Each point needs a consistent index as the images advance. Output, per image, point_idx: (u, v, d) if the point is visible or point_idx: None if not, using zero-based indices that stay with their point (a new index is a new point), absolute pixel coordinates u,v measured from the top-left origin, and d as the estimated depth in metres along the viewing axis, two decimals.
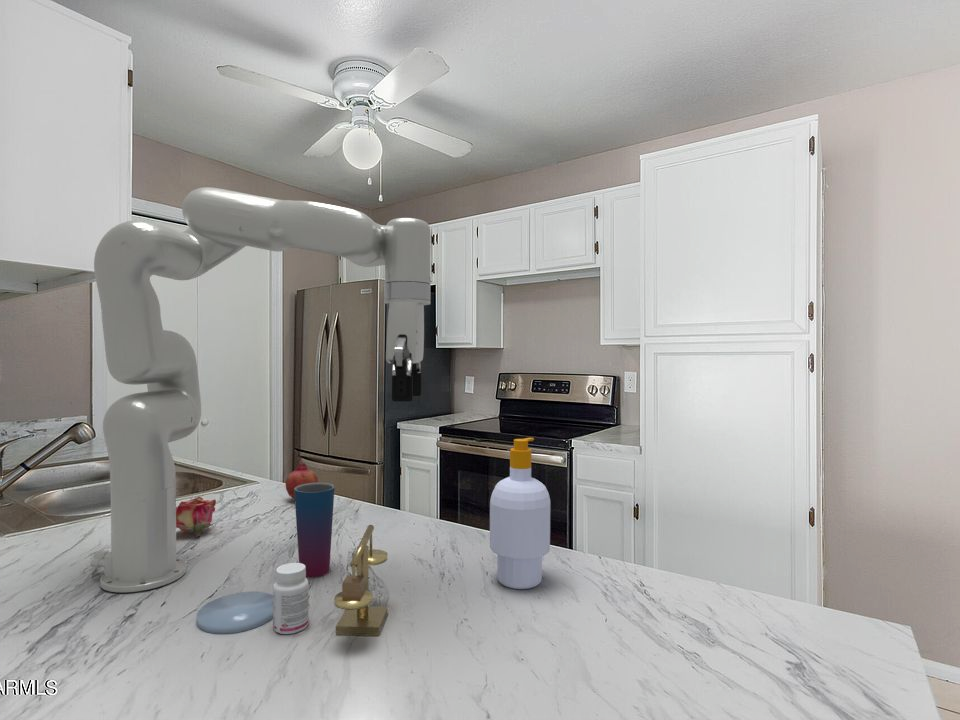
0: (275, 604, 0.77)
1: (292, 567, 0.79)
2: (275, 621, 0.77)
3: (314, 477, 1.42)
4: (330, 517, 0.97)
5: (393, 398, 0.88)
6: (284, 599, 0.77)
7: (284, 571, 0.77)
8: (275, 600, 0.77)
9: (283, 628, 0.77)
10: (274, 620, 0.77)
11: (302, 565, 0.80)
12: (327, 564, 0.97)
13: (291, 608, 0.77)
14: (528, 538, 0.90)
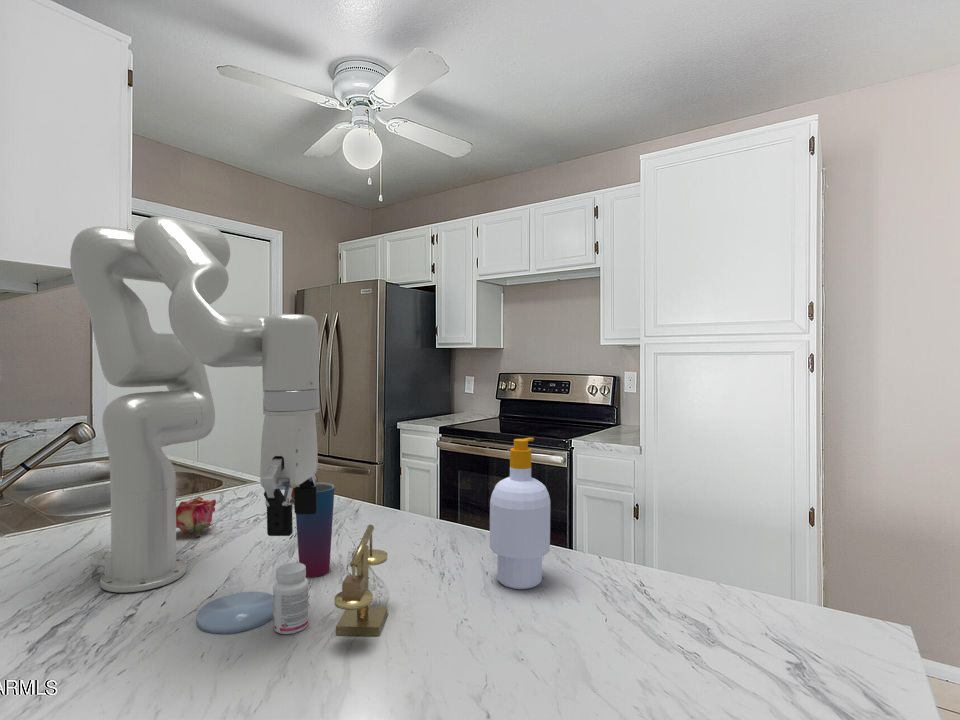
0: (275, 604, 0.77)
1: (292, 567, 0.79)
2: (275, 621, 0.77)
3: None
4: (330, 517, 0.97)
5: (269, 532, 0.73)
6: (284, 599, 0.77)
7: (284, 571, 0.77)
8: (275, 600, 0.77)
9: (283, 628, 0.77)
10: (274, 620, 0.77)
11: (302, 565, 0.80)
12: (327, 564, 0.97)
13: (292, 608, 0.77)
14: (528, 538, 0.90)
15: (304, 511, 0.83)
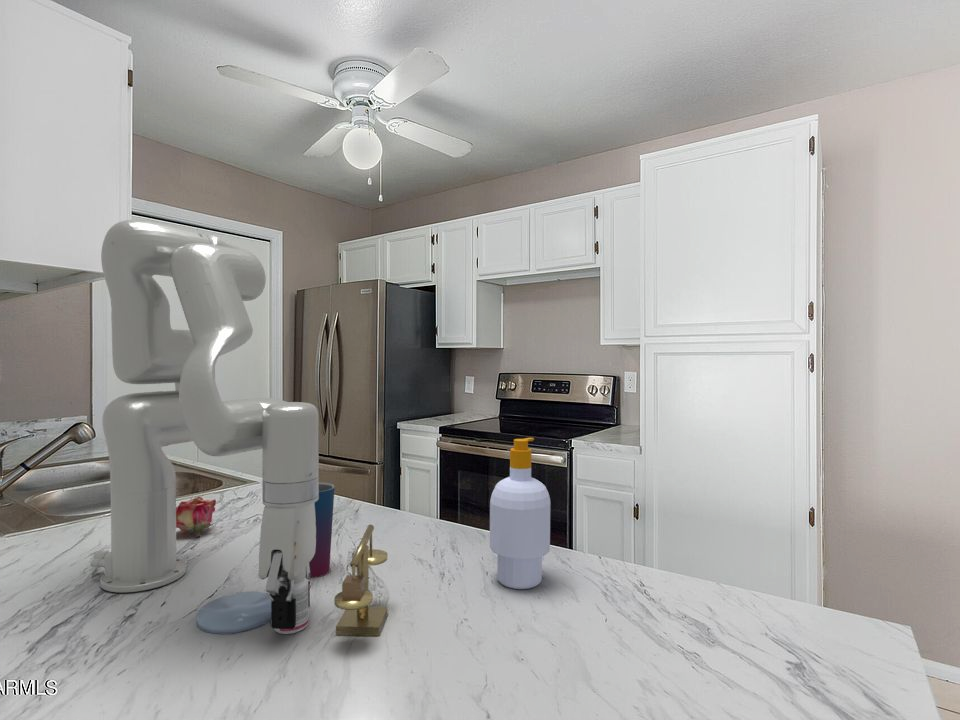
0: None
1: None
2: None
3: None
4: (330, 517, 0.97)
5: (273, 625, 0.76)
6: None
7: None
8: None
9: None
10: None
11: None
12: (327, 564, 0.97)
13: None
14: (528, 538, 0.90)
15: None
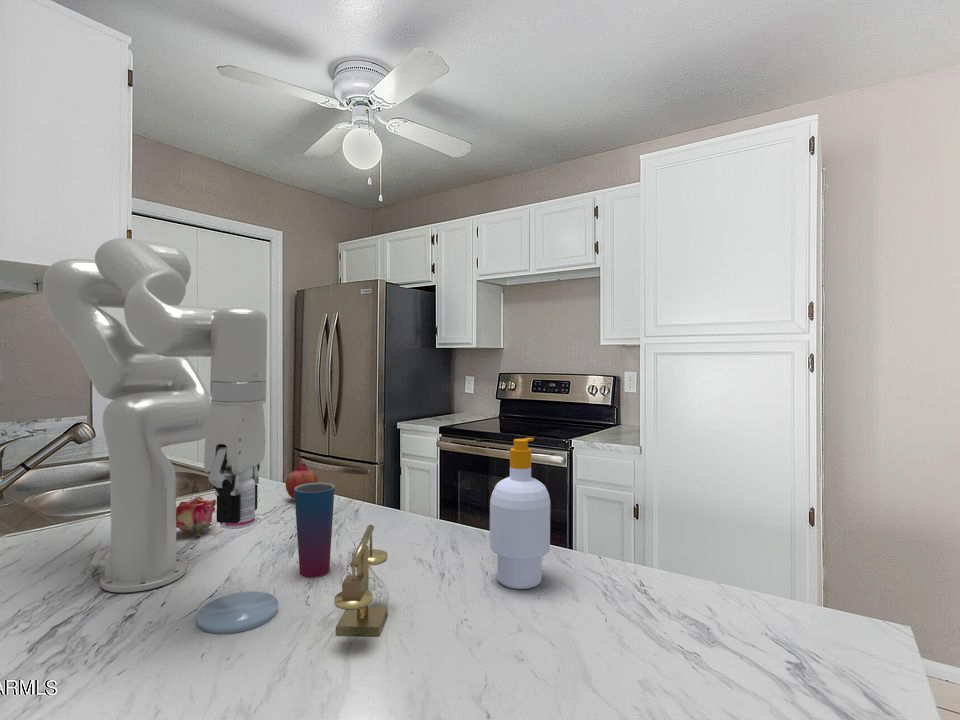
0: None
1: None
2: None
3: (314, 477, 1.42)
4: (330, 517, 0.97)
5: (218, 519, 0.79)
6: None
7: (231, 469, 0.81)
8: None
9: None
10: None
11: None
12: (327, 564, 0.97)
13: None
14: (528, 538, 0.90)
15: None
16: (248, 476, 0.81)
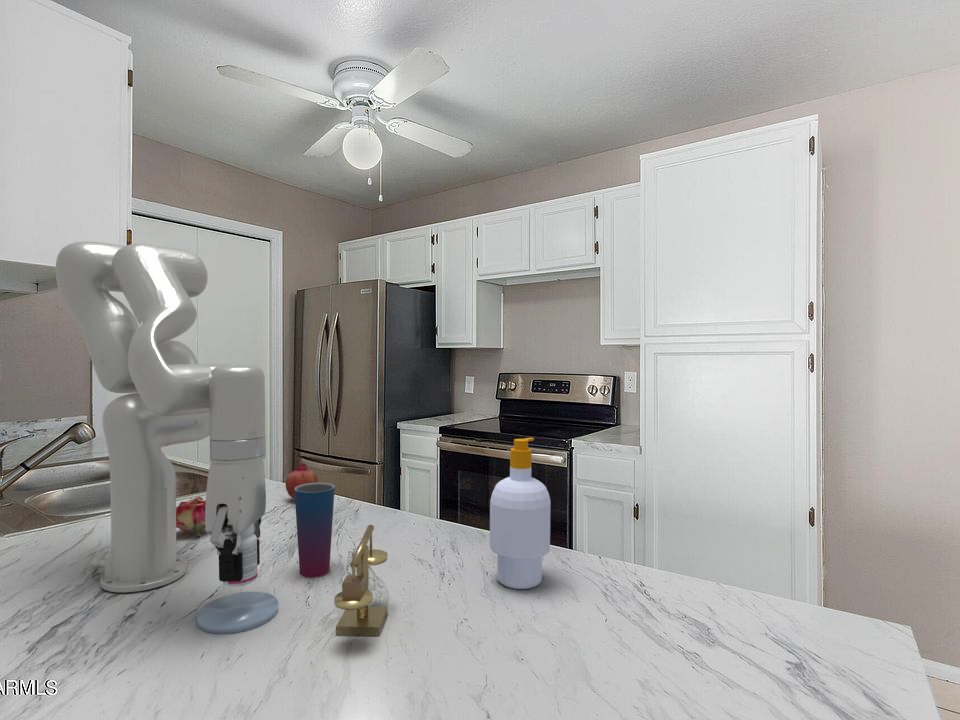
0: None
1: None
2: None
3: (314, 477, 1.42)
4: (330, 517, 0.97)
5: (220, 578, 0.79)
6: None
7: (232, 527, 0.81)
8: None
9: None
10: None
11: None
12: (327, 564, 0.97)
13: None
14: (528, 538, 0.90)
15: None
16: (250, 532, 0.81)
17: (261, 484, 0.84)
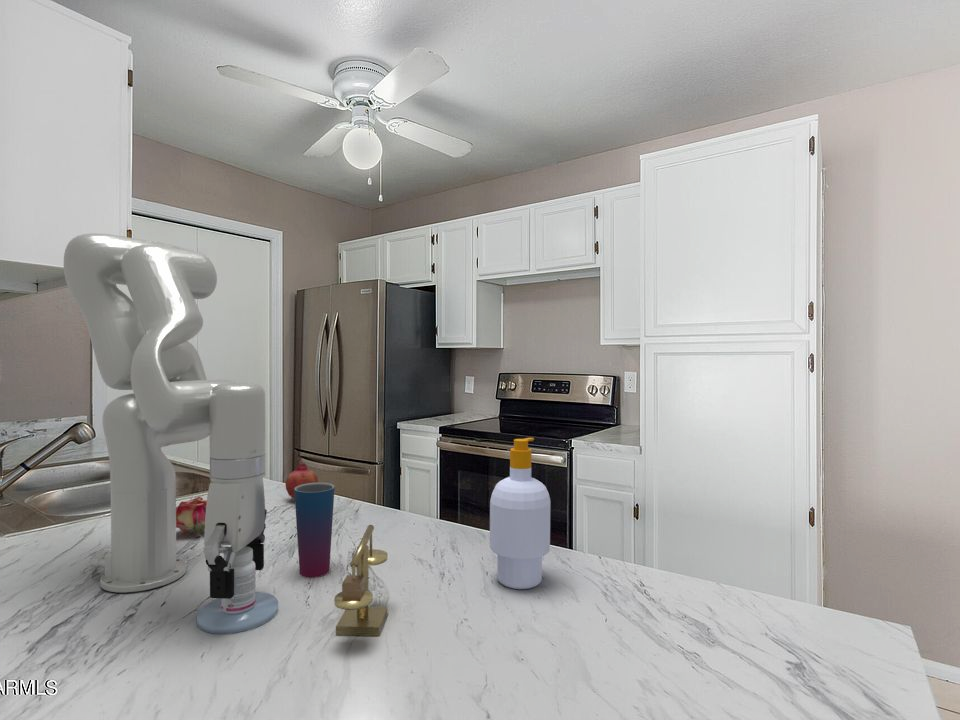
0: None
1: (240, 550, 0.83)
2: (222, 601, 0.81)
3: (314, 477, 1.42)
4: (330, 517, 0.97)
5: (211, 595, 0.77)
6: None
7: None
8: None
9: (229, 608, 0.80)
10: (221, 601, 0.81)
11: (249, 548, 0.83)
12: (327, 564, 0.97)
13: (237, 589, 0.80)
14: (528, 538, 0.90)
15: None
16: (248, 560, 0.82)
17: (260, 501, 0.84)
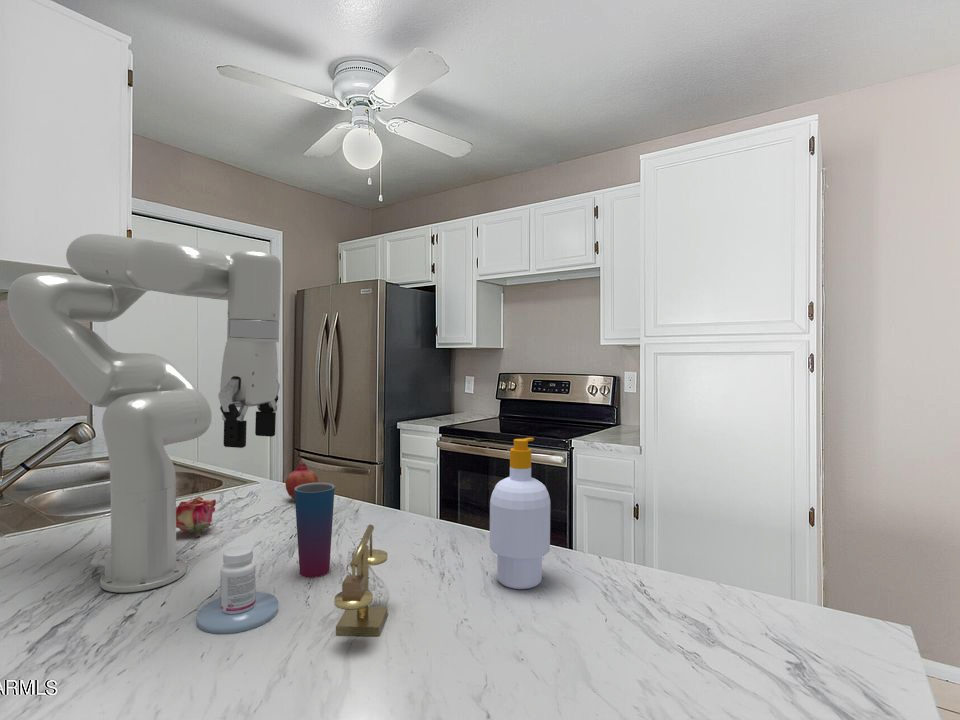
0: (221, 585, 0.81)
1: (240, 550, 0.83)
2: (222, 602, 0.81)
3: (314, 477, 1.42)
4: (330, 517, 0.97)
5: (225, 443, 0.82)
6: (230, 580, 0.80)
7: (231, 554, 0.81)
8: (222, 582, 0.81)
9: (229, 608, 0.80)
10: (221, 601, 0.81)
11: (249, 548, 0.83)
12: (327, 564, 0.97)
13: (237, 589, 0.80)
14: (528, 538, 0.90)
15: (263, 433, 0.92)
16: (248, 560, 0.82)
17: (273, 368, 0.89)
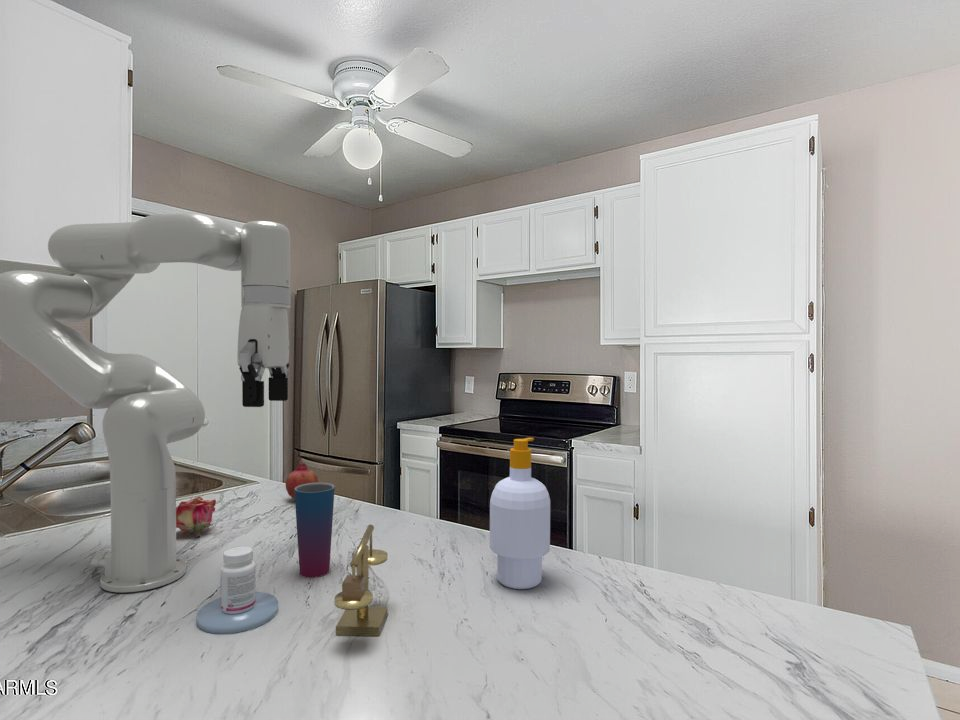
0: (221, 585, 0.81)
1: (240, 550, 0.83)
2: (222, 601, 0.81)
3: (314, 477, 1.42)
4: (330, 517, 0.97)
5: (244, 403, 0.86)
6: (230, 580, 0.80)
7: (231, 554, 0.81)
8: (222, 582, 0.81)
9: (229, 608, 0.80)
10: (221, 601, 0.81)
11: (249, 548, 0.83)
12: (327, 564, 0.97)
13: (237, 589, 0.80)
14: (528, 538, 0.90)
15: (277, 398, 0.96)
16: (248, 560, 0.82)
17: (285, 334, 0.94)
